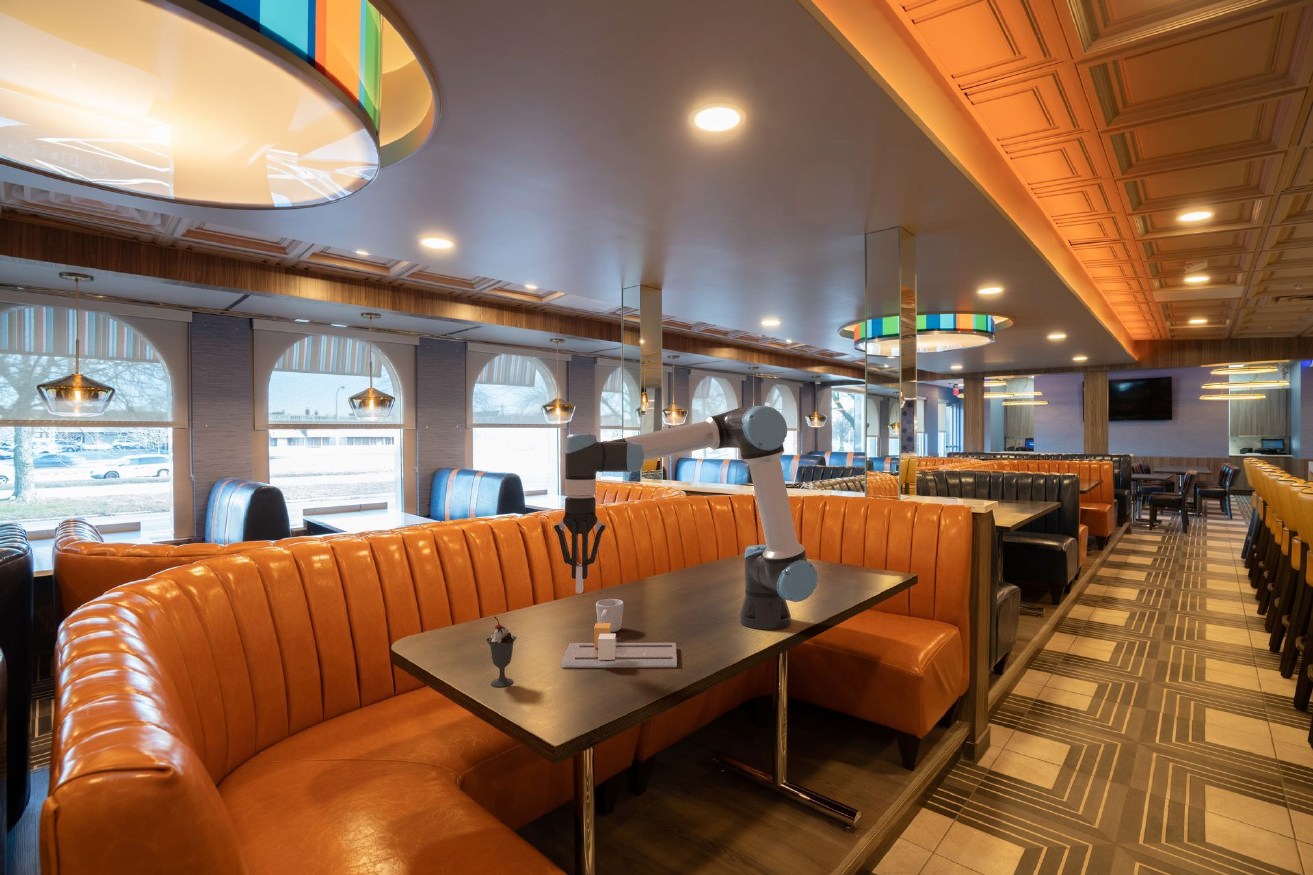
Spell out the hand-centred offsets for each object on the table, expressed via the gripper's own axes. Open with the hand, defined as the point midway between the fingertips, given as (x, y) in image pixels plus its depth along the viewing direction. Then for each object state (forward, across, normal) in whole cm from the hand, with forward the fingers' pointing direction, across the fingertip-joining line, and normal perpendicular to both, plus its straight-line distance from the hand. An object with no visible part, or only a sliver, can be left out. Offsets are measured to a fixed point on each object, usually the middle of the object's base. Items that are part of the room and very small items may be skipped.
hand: (579, 591), depth 151 cm
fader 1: (+16, -5, -8) cm, 18 cm away
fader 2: (+16, -7, +1) cm, 17 cm away
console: (+17, -10, -4) cm, 20 cm away
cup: (+18, -5, -24) cm, 30 cm away
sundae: (+18, +16, +12) cm, 27 cm away
